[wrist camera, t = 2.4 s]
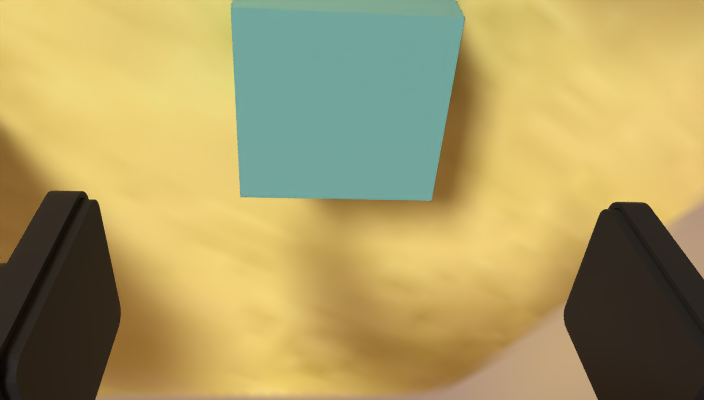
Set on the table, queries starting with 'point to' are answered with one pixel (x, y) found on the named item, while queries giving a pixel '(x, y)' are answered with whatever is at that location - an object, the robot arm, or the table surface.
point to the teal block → (342, 96)
